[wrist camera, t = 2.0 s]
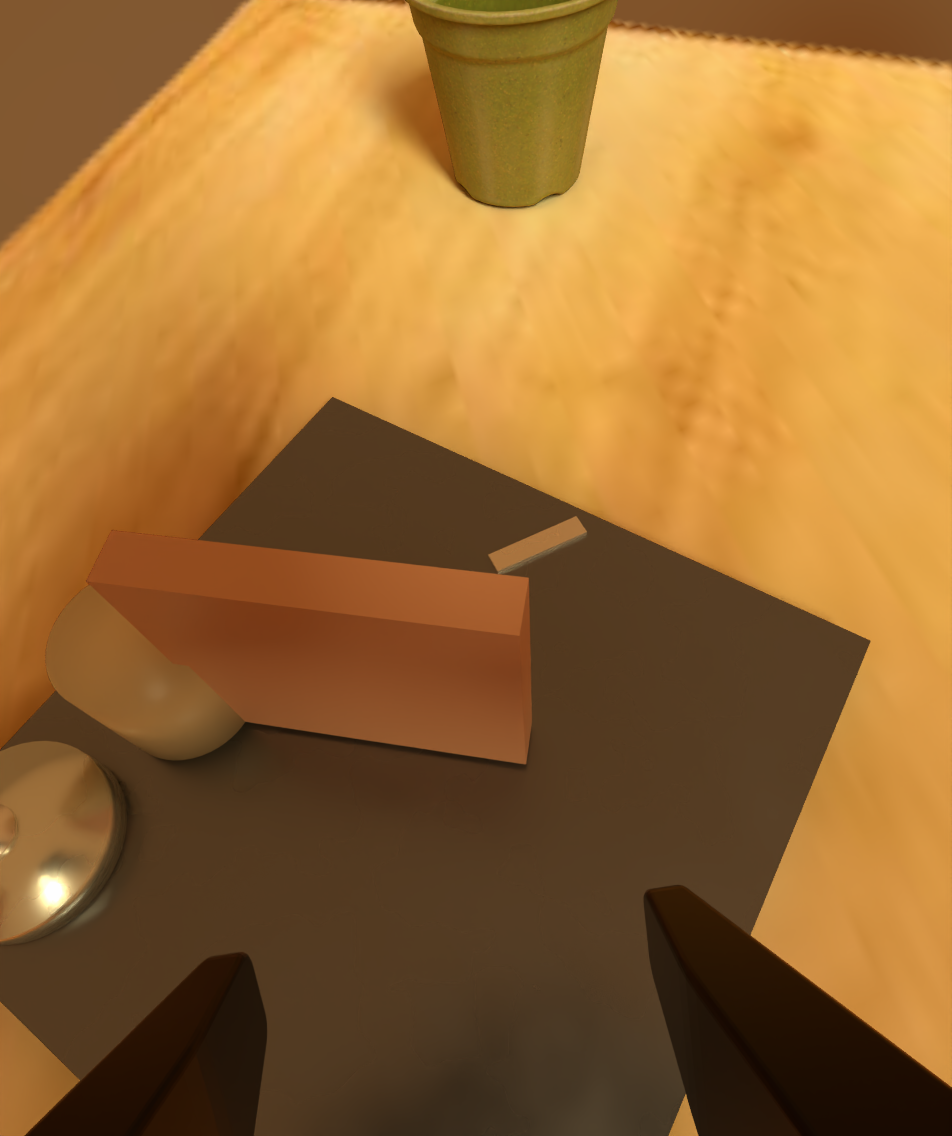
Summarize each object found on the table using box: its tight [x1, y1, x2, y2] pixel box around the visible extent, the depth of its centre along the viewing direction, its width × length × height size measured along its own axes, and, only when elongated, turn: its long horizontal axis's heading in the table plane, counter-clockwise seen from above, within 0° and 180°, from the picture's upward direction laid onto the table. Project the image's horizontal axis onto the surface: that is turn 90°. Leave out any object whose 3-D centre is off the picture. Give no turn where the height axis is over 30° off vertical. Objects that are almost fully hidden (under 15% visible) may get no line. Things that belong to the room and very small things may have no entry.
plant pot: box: [405, 0, 618, 207], centre depth 33 cm, size 9×9×9 cm
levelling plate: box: [0, 397, 870, 1136], centre depth 21 cm, size 20×20×2 cm
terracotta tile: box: [45, 530, 532, 764], centre depth 18 cm, size 12×4×8 cm, turn 80°
